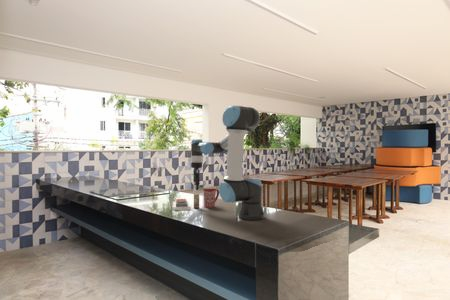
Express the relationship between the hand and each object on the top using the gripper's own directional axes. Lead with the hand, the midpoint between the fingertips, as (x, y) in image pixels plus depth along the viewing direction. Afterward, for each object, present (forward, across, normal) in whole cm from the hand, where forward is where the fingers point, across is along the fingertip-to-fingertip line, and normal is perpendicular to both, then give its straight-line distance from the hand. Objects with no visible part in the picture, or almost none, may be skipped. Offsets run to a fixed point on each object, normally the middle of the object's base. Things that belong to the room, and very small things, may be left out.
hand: (196, 193), depth 204 cm
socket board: (+10, -6, -10) cm, 15 cm away
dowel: (+10, 0, 0) cm, 10 cm away
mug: (+10, -4, +11) cm, 16 cm away
